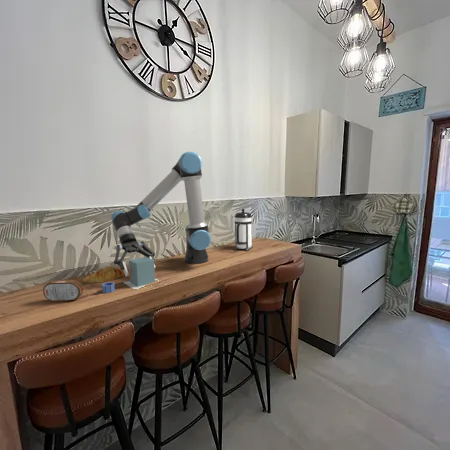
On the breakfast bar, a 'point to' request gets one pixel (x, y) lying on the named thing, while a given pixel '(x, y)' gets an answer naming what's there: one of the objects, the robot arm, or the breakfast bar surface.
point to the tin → (63, 290)
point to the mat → (134, 285)
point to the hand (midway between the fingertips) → (141, 271)
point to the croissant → (104, 275)
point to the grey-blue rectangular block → (142, 271)
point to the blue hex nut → (108, 287)
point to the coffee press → (243, 230)
